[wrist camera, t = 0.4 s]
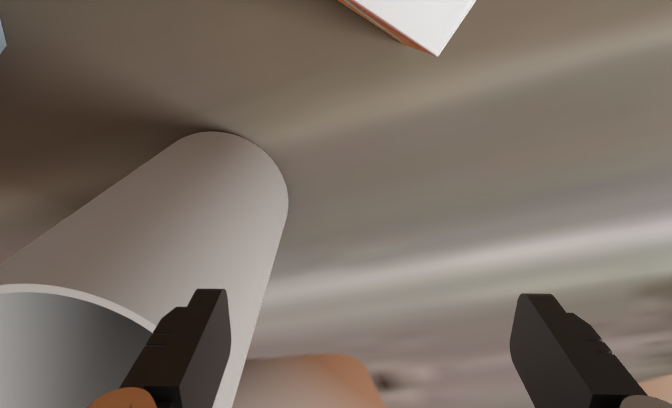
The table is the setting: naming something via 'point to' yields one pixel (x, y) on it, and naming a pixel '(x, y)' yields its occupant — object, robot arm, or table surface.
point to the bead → (2, 39)
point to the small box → (415, 20)
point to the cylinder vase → (140, 271)
